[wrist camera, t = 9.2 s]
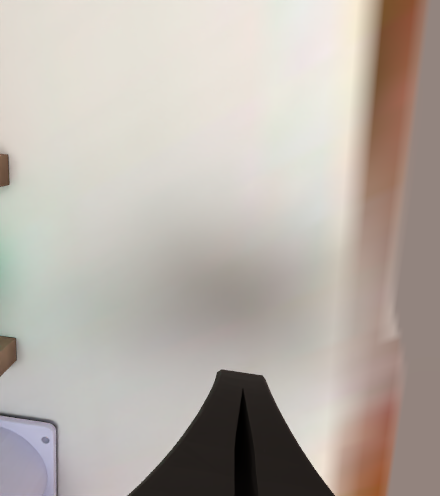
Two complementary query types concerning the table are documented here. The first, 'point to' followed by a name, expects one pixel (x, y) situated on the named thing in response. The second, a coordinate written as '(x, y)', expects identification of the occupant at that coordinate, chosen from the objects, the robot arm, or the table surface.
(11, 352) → the brown wooden angled piece
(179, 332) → the table surface
